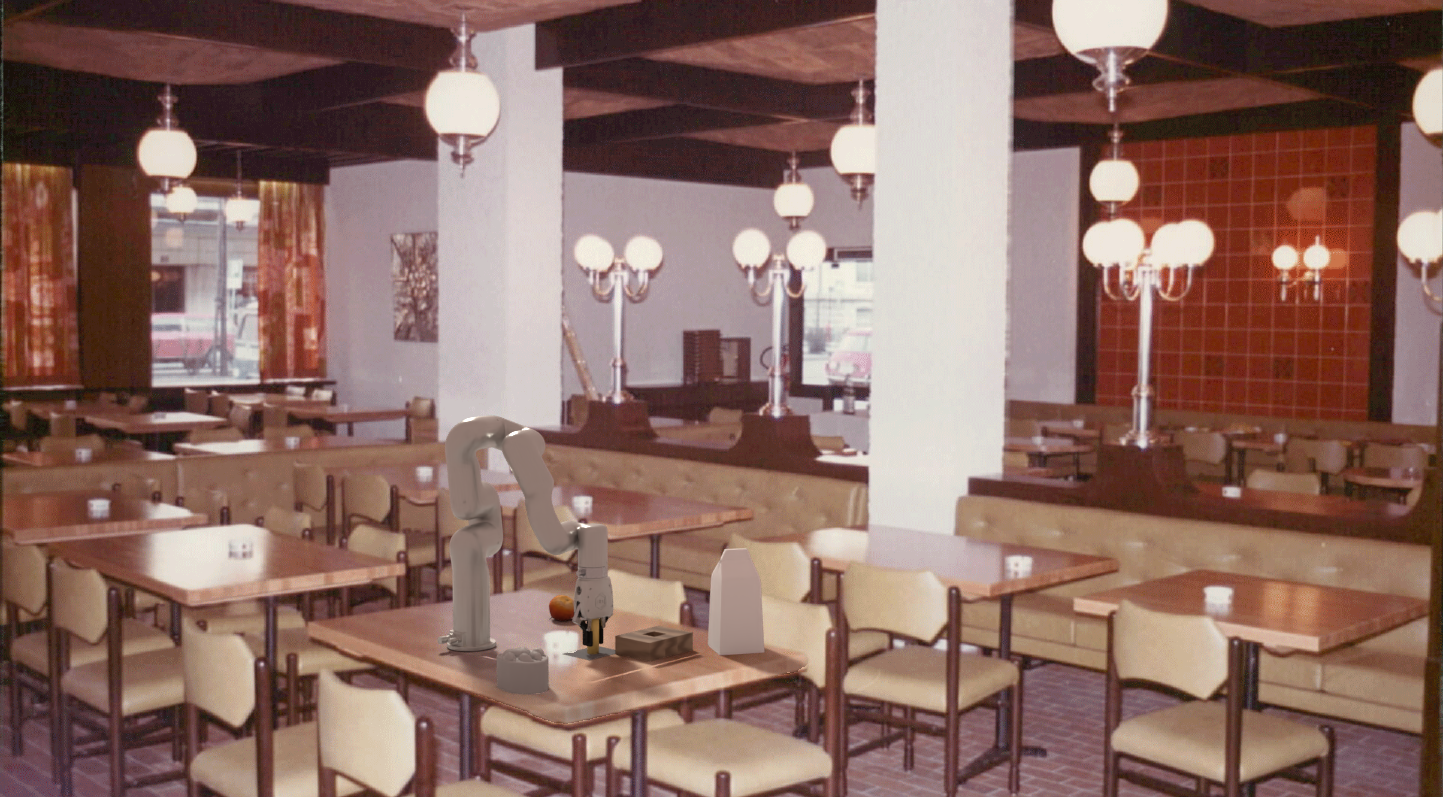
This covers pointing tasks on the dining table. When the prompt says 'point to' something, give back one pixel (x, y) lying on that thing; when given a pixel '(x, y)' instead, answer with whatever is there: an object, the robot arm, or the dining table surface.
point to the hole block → (653, 643)
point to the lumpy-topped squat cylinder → (523, 671)
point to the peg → (594, 637)
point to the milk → (735, 605)
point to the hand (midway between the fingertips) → (593, 643)
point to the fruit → (561, 608)
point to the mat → (586, 656)
